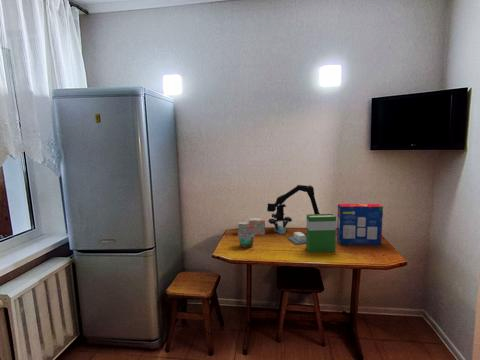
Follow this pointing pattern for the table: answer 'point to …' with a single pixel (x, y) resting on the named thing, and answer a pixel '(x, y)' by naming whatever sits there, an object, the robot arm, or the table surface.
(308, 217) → the green cereal box
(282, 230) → the teal brick
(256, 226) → the stack of blocks
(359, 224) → the blue product box
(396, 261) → the table surface
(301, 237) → the cream brick
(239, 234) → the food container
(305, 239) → the baseplate
